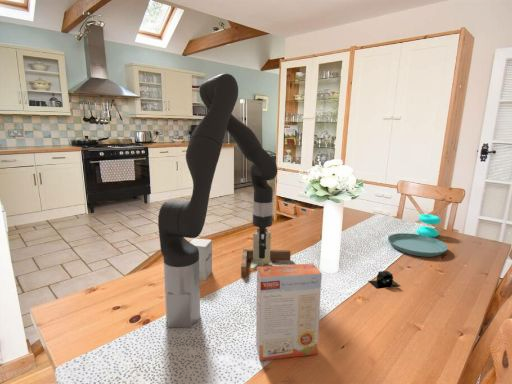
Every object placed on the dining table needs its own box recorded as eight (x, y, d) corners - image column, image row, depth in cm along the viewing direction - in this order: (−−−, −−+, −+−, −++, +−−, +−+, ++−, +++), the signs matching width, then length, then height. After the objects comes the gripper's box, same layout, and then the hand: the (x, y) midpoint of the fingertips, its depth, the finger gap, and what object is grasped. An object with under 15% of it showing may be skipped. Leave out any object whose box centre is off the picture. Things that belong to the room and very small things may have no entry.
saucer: (398, 235, 155) (398, 229, 155) (452, 249, 139) (453, 242, 138) (378, 248, 138) (379, 241, 138) (438, 264, 122) (439, 257, 121)
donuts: (414, 213, 159) (430, 213, 161) (412, 232, 161) (427, 230, 163) (429, 219, 149) (445, 218, 152) (426, 238, 151) (443, 237, 154)
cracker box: (309, 338, 77) (314, 262, 72) (317, 355, 71) (323, 273, 67) (254, 343, 74) (256, 264, 70) (258, 361, 69) (260, 277, 64)
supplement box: (205, 281, 104) (205, 246, 102) (185, 278, 106) (184, 244, 103) (212, 271, 111) (212, 239, 109) (194, 269, 113) (193, 237, 110)
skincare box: (261, 266, 114) (262, 235, 111) (252, 263, 116) (252, 233, 113) (270, 260, 119) (271, 231, 116) (261, 257, 121) (261, 229, 119)
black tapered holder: (373, 291, 101) (375, 279, 100) (362, 281, 108) (363, 269, 107) (406, 288, 103) (408, 276, 102) (392, 278, 110) (394, 266, 109)
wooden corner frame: (294, 278, 108) (295, 267, 107) (241, 277, 108) (241, 266, 107) (289, 259, 124) (290, 250, 123) (242, 258, 123) (243, 249, 123)
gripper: (252, 207, 120) (252, 246, 124) (252, 218, 106) (251, 261, 109) (271, 208, 120) (270, 247, 124) (273, 218, 106) (272, 262, 110)
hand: (261, 253), depth 117 cm, fingers closed on skincare box, 7 cm apart
